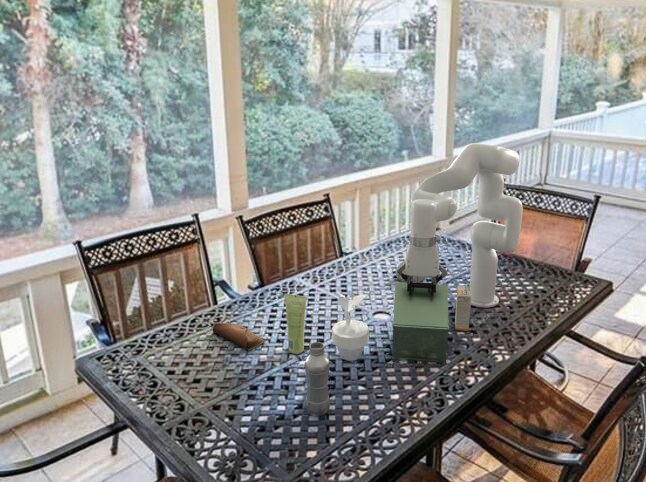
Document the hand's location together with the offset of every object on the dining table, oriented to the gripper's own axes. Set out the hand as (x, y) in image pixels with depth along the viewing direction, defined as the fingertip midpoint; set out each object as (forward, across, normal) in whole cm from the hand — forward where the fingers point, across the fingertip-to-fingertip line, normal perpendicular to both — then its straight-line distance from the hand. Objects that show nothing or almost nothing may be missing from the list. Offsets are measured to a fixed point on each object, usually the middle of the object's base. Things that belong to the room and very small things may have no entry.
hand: (421, 293), depth 167 cm
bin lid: (+3, 0, +1) cm, 4 cm away
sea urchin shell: (+21, +4, -54) cm, 58 cm away
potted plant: (+20, +21, +7) cm, 30 cm away
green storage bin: (+20, 0, +1) cm, 20 cm away
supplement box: (+20, -15, -18) cm, 31 cm away
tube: (+19, +39, +6) cm, 44 cm away
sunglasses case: (+19, +60, +1) cm, 63 cm away
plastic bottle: (+19, +27, +35) cm, 48 cm away
